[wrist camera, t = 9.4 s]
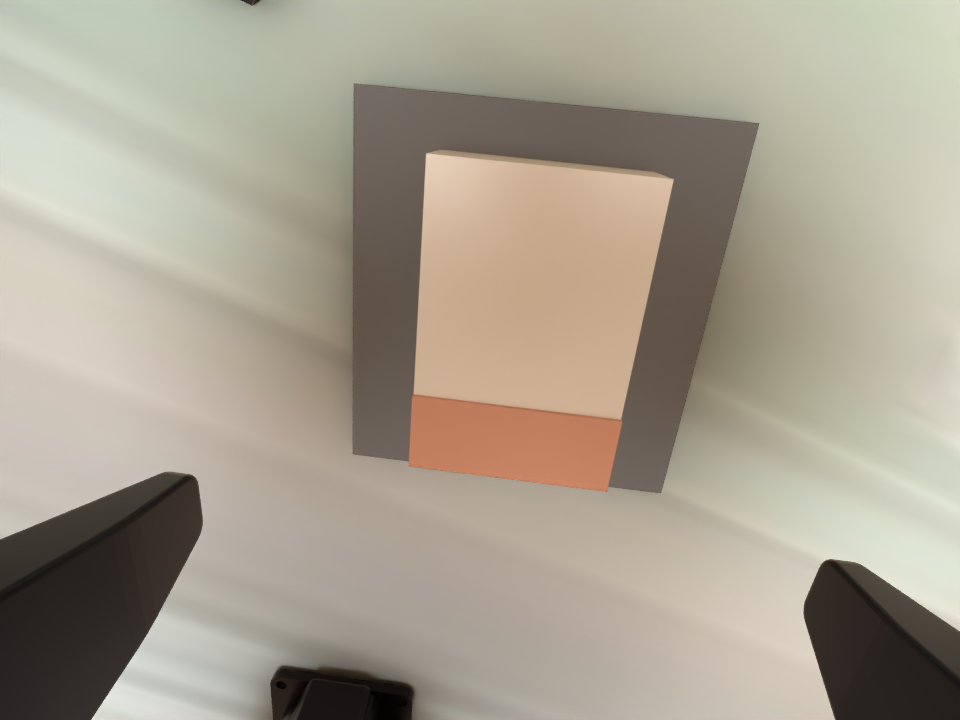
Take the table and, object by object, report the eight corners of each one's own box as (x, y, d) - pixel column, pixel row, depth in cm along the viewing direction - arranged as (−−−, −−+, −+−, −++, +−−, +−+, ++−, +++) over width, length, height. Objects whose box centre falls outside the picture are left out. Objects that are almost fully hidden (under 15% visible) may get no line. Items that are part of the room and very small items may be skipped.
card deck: (654, 171, 16) (675, 179, 13) (597, 447, 19) (606, 491, 17) (440, 149, 16) (424, 153, 14) (423, 425, 19) (408, 466, 17)
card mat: (657, 483, 20) (661, 493, 20) (357, 445, 21) (353, 454, 20) (750, 123, 15) (759, 123, 15) (359, 85, 16) (353, 83, 15)
